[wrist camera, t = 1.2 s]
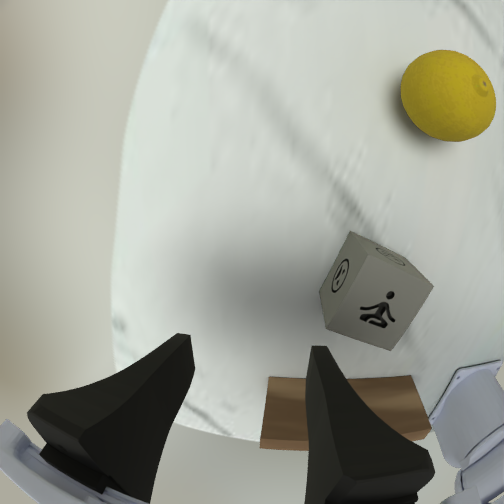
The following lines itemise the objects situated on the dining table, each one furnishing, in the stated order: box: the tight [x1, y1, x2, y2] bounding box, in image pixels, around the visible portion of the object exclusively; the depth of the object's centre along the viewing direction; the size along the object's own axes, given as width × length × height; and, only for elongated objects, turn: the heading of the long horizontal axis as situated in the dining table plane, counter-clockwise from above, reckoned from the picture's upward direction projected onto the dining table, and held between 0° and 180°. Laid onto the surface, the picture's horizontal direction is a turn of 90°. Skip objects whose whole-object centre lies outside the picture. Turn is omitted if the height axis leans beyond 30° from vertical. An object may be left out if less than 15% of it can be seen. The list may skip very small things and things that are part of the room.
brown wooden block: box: [260, 375, 432, 451], centre depth 19 cm, size 2×14×7 cm, turn 88°
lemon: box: [401, 50, 496, 142], centre depth 11 cm, size 6×6×8 cm
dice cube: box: [319, 231, 434, 351], centre depth 17 cm, size 5×5×5 cm
